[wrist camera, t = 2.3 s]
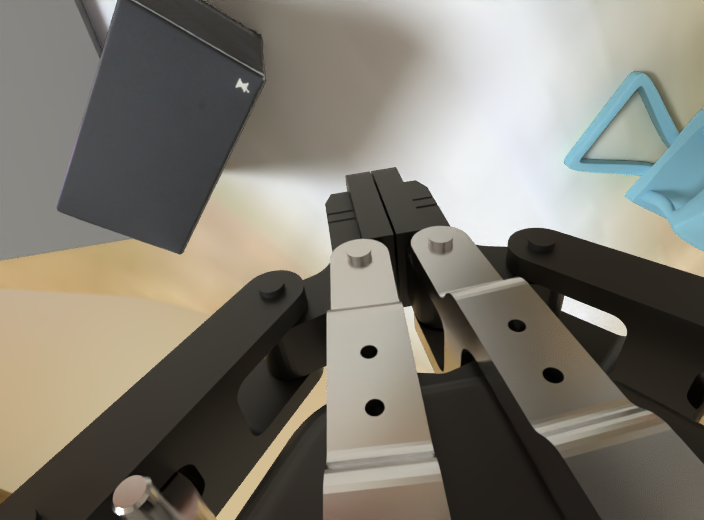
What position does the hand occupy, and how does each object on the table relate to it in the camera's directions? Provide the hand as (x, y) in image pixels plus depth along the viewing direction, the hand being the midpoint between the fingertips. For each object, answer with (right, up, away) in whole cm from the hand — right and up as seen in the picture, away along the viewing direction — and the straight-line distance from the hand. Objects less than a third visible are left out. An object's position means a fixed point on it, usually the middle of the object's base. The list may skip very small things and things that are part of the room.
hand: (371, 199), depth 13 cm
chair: (+22, +8, +21) cm, 31 cm away
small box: (-11, +9, +15) cm, 21 cm away
